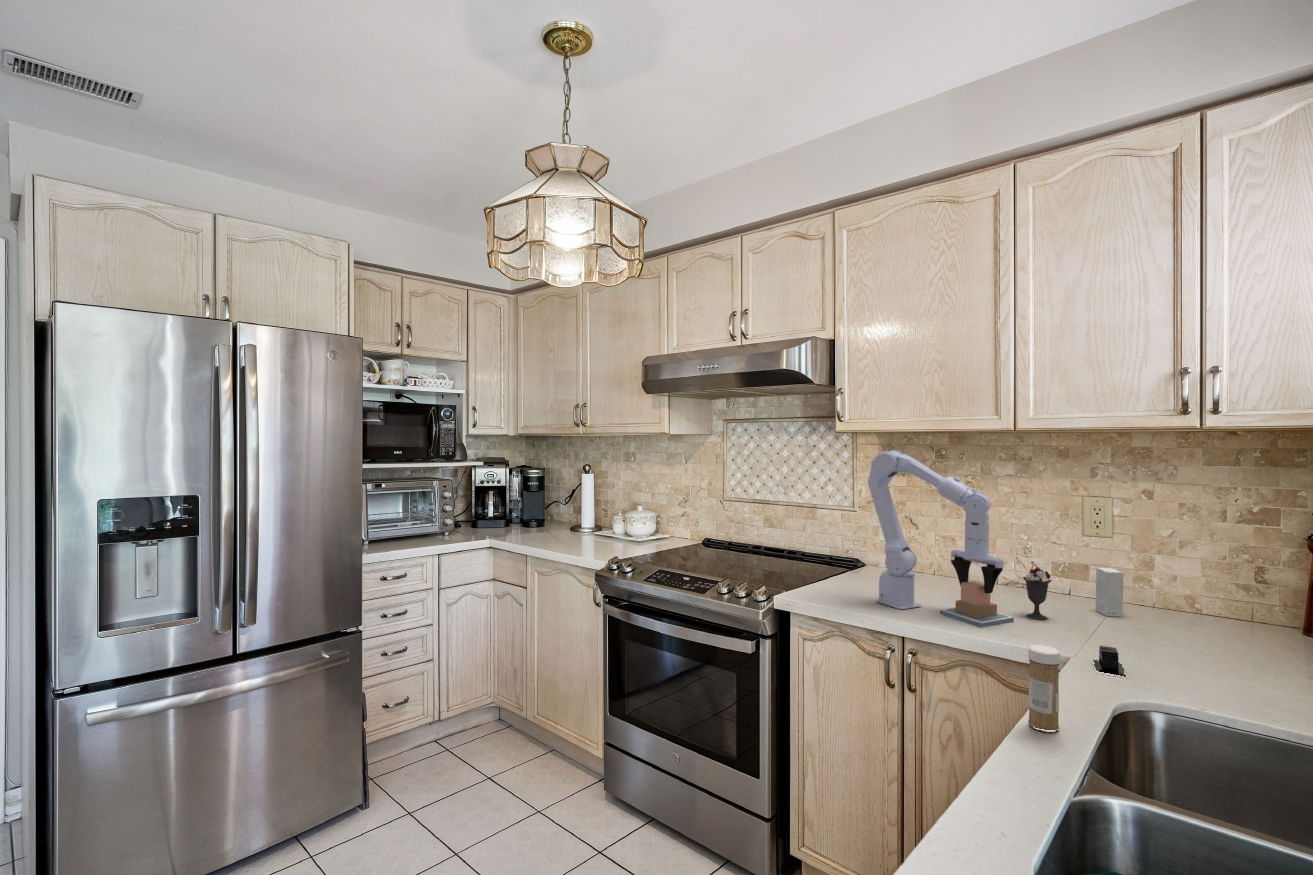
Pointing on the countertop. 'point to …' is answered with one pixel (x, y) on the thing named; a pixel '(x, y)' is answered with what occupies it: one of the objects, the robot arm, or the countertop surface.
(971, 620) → the blueprint board
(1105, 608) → the skincare box
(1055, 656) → the sprinkles bottle
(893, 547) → the robot arm
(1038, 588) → the sundae
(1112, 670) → the black blocky piece
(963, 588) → the terracotta block
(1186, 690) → the countertop surface
